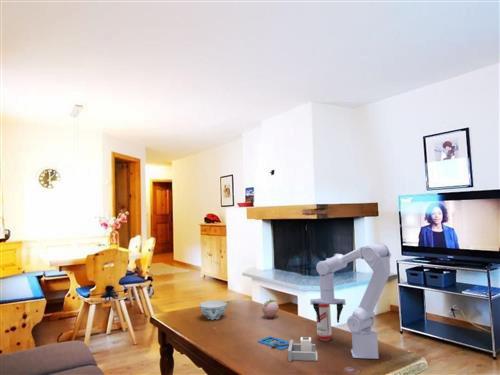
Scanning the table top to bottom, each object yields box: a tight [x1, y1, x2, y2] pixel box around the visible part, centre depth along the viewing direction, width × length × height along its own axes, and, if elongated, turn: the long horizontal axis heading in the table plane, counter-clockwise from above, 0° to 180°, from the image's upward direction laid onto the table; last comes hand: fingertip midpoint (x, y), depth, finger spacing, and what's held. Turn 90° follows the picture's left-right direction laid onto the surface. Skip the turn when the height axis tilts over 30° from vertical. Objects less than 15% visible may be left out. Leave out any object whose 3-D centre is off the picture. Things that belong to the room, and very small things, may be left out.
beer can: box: [315, 304, 333, 342], centre depth 160 cm, size 6×6×16 cm
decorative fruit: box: [261, 299, 280, 319], centre depth 195 cm, size 9×8×10 cm
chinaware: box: [199, 300, 228, 321], centre depth 198 cm, size 15×15×8 cm
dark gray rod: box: [270, 342, 297, 349], centre depth 152 cm, size 10×1×1 cm, turn 100°
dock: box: [287, 339, 318, 363], centre depth 141 cm, size 11×12×4 cm
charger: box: [300, 336, 312, 352], centre depth 142 cm, size 4×4×6 cm
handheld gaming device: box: [257, 335, 290, 351], centre depth 156 cm, size 8×1×15 cm
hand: (328, 321), depth 153 cm, fingers open, 7 cm apart
